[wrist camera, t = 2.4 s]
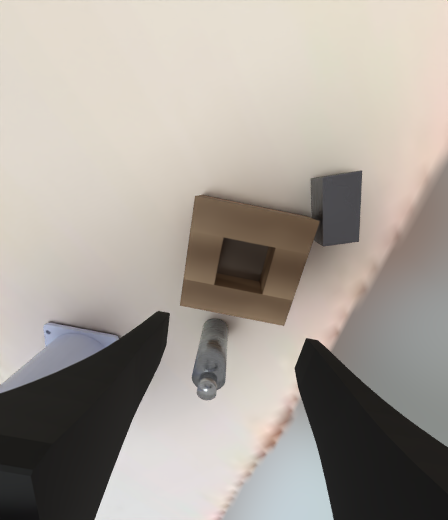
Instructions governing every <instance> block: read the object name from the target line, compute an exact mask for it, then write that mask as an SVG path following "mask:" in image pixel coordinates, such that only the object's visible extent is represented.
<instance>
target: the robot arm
mask: <svg viewBox="0 0 448 520" xmlns="http://www.w3.org/2000/svg"><path fill="white" fill-rule="evenodd" d="M169 316H170V313H166V312H161V311H158V312H156V313H155V314H153V315H152V316H151V317H149V318H148V319H147V320H145V321H144V322H143V323H141V324H140V325H139V326H137V327H136V328H135V329H133V330H132V331H130V332H129V333H127V334H126V335H125V336H123V337H121V338H120V339H119V338H118V336H116V335H112V334H107V333H102V332H96V331H91V330H86V329H81V328H76V327H70V326H65V325H60V324H55V323H46V324H45V325H44V336H45V344H46V347H45V348H44V349H43V350H42V351H41V352H39V353H38V354H37V355H36V356H35V357H33V358H32V359H31V360H30V361H29V362H27V363H26V364H25V365H24V366H23V367H21V368H20V369H19V370H18V371H17V372H15V373H14V374H13V375H12V376H11V377H9V378H8V379H7V380H6V381H5V382H3V383H2V384H1V385H0V520H94V519H95V517H96V514H97V511H98V508H99V506H100V503H101V500H102V498H103V495H104V492H105V489H106V487H107V484H108V481H109V479H110V476H111V473H112V471H113V468H114V466H115V463H116V460H117V458H118V455H119V452H120V450H121V447H122V445H123V442H124V440H125V437H126V435H127V432H128V430H129V427H130V424H131V422H132V419H133V417H134V415H135V413H136V411H137V408H138V406H139V404H140V402H141V400H142V398H143V396H144V394H145V392H146V390H147V388H148V386H149V384H150V382H151V380H152V378H153V376H154V374H155V372H156V370H157V368H158V366H159V364H160V361H161V358H162V356H163V353H164V350H165V347H166V343H167V334H168V325H169ZM295 373H296V378H297V383H298V388H299V392H300V395H301V398H302V401H303V404H304V407H305V410H306V413H307V416H308V419H309V422H310V425H311V428H312V431H313V434H314V438H315V441H316V444H317V448H318V451H319V455H320V459H321V463H322V467H323V472H324V476H325V480H326V485H327V490H328V494H329V499H330V504H331V508H332V513H333V518H334V520H448V447H447V446H445V445H444V444H442V443H440V442H439V441H438V440H436V439H435V438H433V437H432V436H431V435H429V434H428V433H426V432H425V431H424V430H422V429H421V428H419V427H418V426H416V425H415V424H414V423H412V422H411V421H410V420H408V419H407V418H405V417H404V416H403V415H402V414H400V413H399V412H398V411H397V410H395V409H394V408H393V407H391V406H390V405H389V404H388V403H386V402H385V401H384V400H383V399H381V398H380V397H379V396H378V395H377V394H376V393H375V392H373V391H372V390H371V389H370V388H369V387H368V386H366V385H365V384H364V383H363V382H362V381H361V380H360V379H359V378H358V377H356V376H355V375H354V374H353V373H352V372H351V371H350V370H349V369H348V368H347V367H345V365H344V364H342V362H341V361H339V360H338V359H337V358H336V357H335V356H334V355H333V354H332V353H331V352H330V351H329V350H328V349H327V348H326V347H325V346H324V345H323V344H321V343H320V342H319V341H318V340H313V339H308V338H306V340H305V343H304V345H303V348H302V350H301V353H300V356H299V358H298V361H297V364H296V366H295Z"/></svg>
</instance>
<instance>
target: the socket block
mask: <svg viewBox="0 0 448 520" xmlns="http://www.w3.org/2000/svg"><path fill="white" fill-rule="evenodd" d="M319 222H320V221H318V220H315V219H313V218H310V217H307V216H303V215H298V214H294V213H289V212H284V211H279V210H274V209H269V208H264V207H259V206H254V205H249V204H244V203H239V202H234V201H229V200H224V199H219V198H214V197H209V196H205V195H199V196H195V201H194V208H193V215H192V222H191V229H190V237H189V244H188V251H187V258H186V265H185V273H184V280H183V287H182V294H181V301H180V306H185V307H190V308H195V309H201V310H206V311H211V312H216V313H221V314H226V315H231V316H236V317H242V318H247V319H252V320H257V321H262V322H267V323H272V324H277V325H283V326H284V324H285V321H286V319H287V316H288V313H289V310H290V307H291V304H292V301H293V298H294V295H295V292H296V289H297V287H298V284H299V281H300V278H301V275H302V272H303V269H304V266H305V263H306V260H307V257H308V255H309V252H310V249H311V246H312V243H313V240H314V237H315V234H316V231H317V228H318V225H319Z"/></svg>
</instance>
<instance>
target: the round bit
mask: <svg viewBox="0 0 448 520" xmlns="http://www.w3.org/2000/svg"><path fill="white" fill-rule="evenodd" d="M227 338H228V327H227V325H226V323H225V322H224V321H222V320H220V319H210V320H208V321H207V322H206V323H205V324H204V326H203V331H202V335H201V339H200V344H199V348H198V352H197V356H196V361H195V365H194V369H193V374H192V381H193V383H194V384H195V385H196V386H197V387H198V389H197V395H198V396H199V397H200V398H201V399H203V400H211V399H213V398H215V396H216V391H217V390H218V389H220V388H221V387H222V386H223V385H224V383H225V376H226V357H227Z"/></svg>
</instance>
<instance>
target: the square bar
mask: <svg viewBox="0 0 448 520" xmlns="http://www.w3.org/2000/svg"><path fill="white" fill-rule="evenodd" d="M361 183H362V171H356V172H349V173H342V174H336V175H330V176H324V177H318V178H312V179H311V213H312V218H313V219H315V220H318V221H320V222H319V225H318V228H317V231H316V234H315V237H314V241H316V242H317V243H319V244H320V245H322V246H330V245H337V244H345V243H352V242H359V227H360V205H361Z"/></svg>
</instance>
